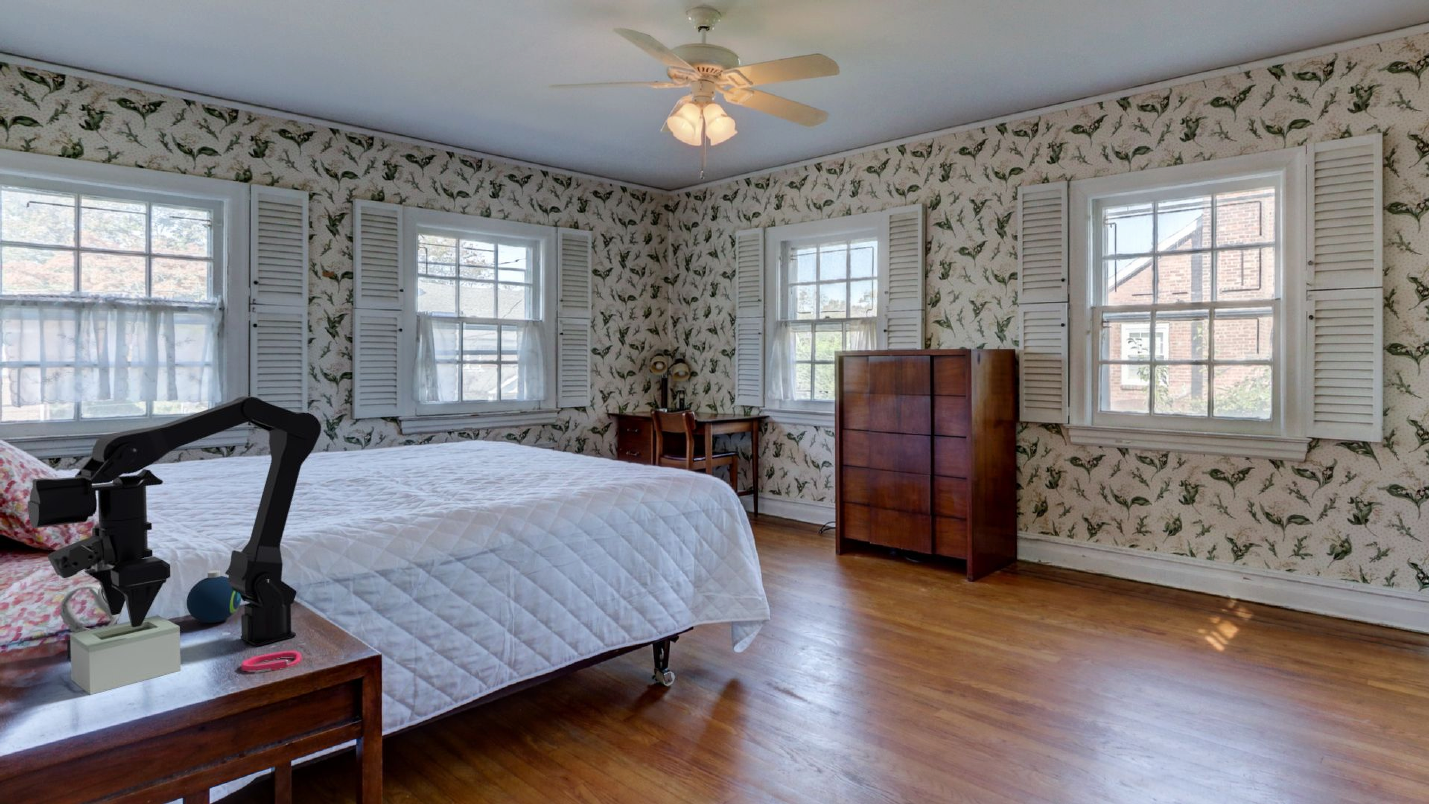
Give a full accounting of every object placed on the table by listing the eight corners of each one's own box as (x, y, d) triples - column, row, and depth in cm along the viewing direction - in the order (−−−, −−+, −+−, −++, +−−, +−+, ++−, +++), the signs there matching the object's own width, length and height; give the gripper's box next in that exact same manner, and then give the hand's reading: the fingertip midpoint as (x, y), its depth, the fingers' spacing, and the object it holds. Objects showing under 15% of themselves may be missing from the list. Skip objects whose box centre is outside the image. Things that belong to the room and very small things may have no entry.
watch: (113, 655, 122) (112, 587, 122) (54, 660, 120) (52, 591, 120) (130, 643, 127) (129, 578, 127) (73, 647, 125) (72, 582, 125)
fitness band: (240, 678, 114) (240, 668, 114) (242, 665, 119) (242, 655, 119) (301, 668, 118) (301, 658, 118) (301, 656, 123) (301, 646, 123)
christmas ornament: (213, 631, 134) (212, 575, 133) (175, 627, 136) (173, 572, 135) (252, 616, 142) (251, 563, 141) (216, 613, 144) (214, 560, 143)
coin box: (159, 657, 121) (158, 615, 121) (180, 670, 116) (179, 626, 116) (71, 679, 112) (70, 634, 112) (90, 694, 107) (89, 647, 107)
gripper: (35, 518, 112) (38, 622, 113) (72, 534, 101) (76, 649, 102) (127, 507, 121) (129, 604, 122) (170, 521, 110) (173, 627, 111)
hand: (125, 620), depth 114 cm, fingers open, 9 cm apart
